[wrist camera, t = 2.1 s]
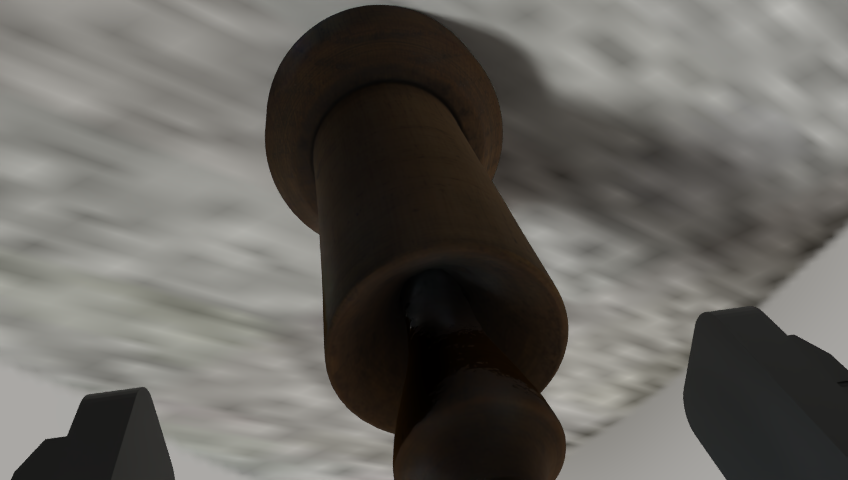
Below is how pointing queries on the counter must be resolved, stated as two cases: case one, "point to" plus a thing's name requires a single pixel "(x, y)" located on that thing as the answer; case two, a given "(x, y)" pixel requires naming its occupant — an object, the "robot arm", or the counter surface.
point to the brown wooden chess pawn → (418, 246)
